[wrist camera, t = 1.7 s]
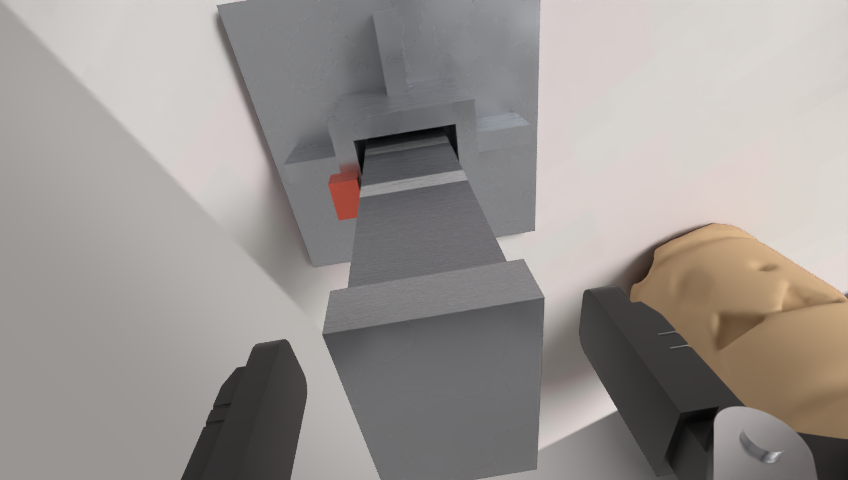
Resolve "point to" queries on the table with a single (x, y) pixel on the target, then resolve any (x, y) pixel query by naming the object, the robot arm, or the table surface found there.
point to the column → (435, 323)
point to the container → (757, 324)
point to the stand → (391, 98)
